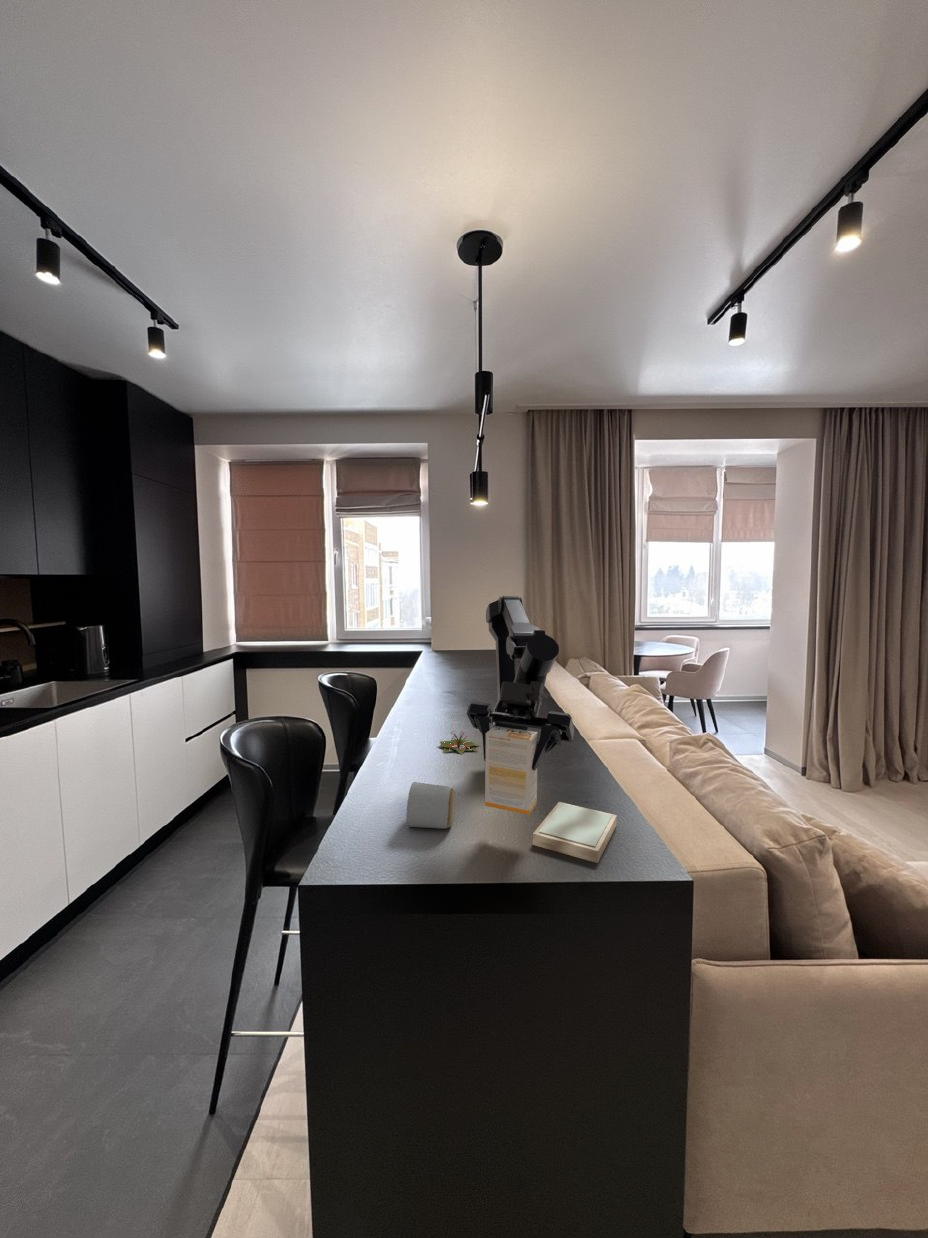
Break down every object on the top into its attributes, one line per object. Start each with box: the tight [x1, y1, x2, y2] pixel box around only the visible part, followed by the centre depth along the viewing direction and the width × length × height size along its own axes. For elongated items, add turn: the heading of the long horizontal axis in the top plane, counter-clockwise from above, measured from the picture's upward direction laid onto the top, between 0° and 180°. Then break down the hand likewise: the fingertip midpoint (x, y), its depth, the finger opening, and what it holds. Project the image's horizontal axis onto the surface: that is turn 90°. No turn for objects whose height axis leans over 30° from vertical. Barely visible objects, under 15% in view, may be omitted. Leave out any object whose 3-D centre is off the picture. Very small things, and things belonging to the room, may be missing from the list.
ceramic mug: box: [406, 781, 456, 830], centre depth 94 cm, size 11×8×8 cm
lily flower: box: [436, 730, 479, 755], centre depth 135 cm, size 12×12×5 cm
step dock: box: [532, 801, 618, 864], centre depth 90 cm, size 11×14×2 cm
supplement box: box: [484, 726, 539, 815], centre depth 88 cm, size 8×5×13 cm, turn 65°
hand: (508, 765), depth 87 cm, fingers closed on supplement box, 8 cm apart
